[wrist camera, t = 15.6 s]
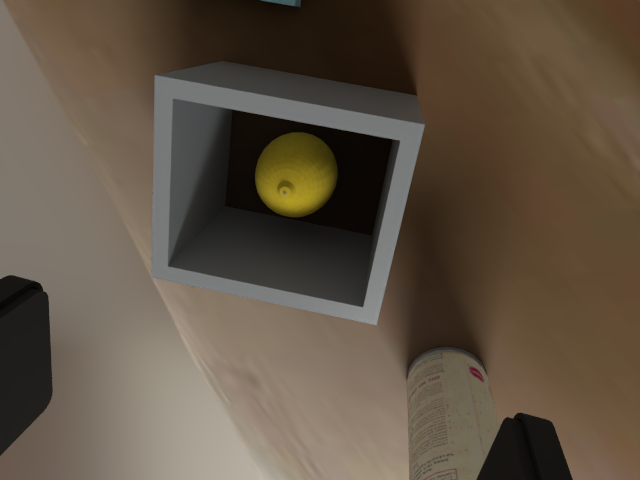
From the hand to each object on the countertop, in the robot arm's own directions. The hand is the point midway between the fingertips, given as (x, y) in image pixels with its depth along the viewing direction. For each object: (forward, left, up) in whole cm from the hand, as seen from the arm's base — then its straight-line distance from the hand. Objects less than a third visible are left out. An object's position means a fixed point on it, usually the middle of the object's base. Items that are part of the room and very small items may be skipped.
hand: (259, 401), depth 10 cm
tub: (+4, +3, -29) cm, 29 cm away
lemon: (+4, +3, -29) cm, 29 cm away
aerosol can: (-11, +20, -29) cm, 37 cm away
